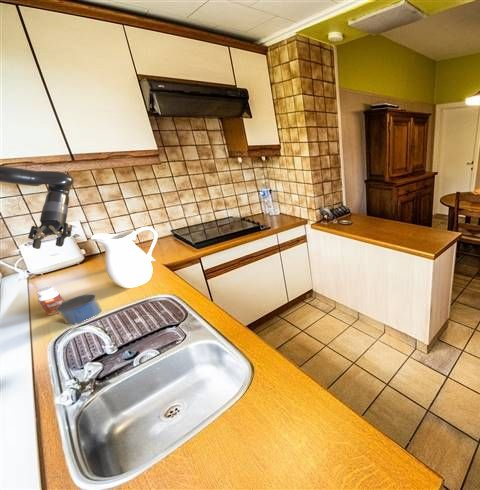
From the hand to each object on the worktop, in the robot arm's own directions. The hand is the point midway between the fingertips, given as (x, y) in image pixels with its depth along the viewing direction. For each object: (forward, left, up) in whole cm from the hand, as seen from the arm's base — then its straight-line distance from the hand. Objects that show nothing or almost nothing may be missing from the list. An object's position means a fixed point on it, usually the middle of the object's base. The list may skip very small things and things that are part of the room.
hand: (47, 247), depth 116 cm
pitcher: (+26, -4, -26) cm, 37 cm away
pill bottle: (-5, -9, -26) cm, 29 cm away
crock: (+5, -23, -26) cm, 35 cm away
